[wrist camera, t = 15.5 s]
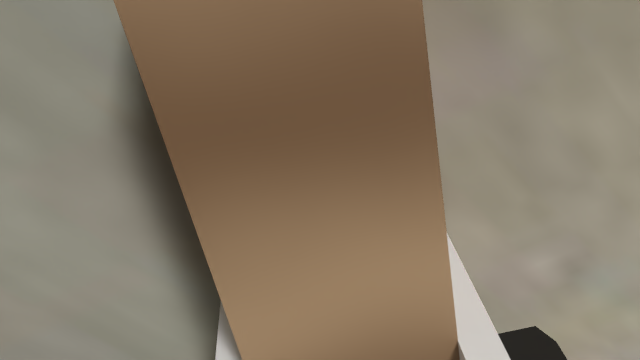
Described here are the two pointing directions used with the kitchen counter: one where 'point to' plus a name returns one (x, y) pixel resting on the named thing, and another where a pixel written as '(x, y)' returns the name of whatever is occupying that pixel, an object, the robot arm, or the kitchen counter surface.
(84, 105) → the kitchen counter surface
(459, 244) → the kitchen counter surface
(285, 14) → the walnut stick
